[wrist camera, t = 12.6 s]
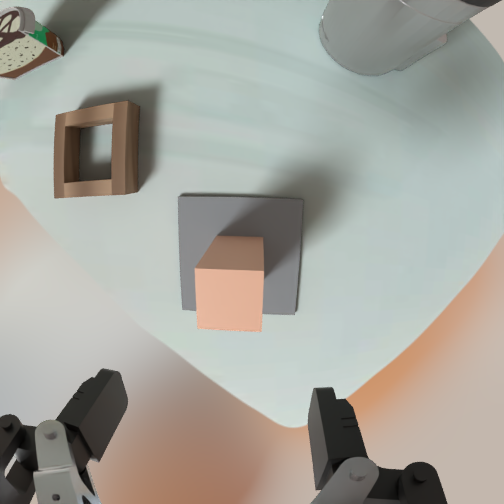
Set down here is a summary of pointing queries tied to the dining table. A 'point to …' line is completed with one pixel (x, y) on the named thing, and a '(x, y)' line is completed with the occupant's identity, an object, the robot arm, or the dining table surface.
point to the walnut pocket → (122, 150)
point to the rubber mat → (250, 225)
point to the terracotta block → (231, 284)
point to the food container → (25, 43)
